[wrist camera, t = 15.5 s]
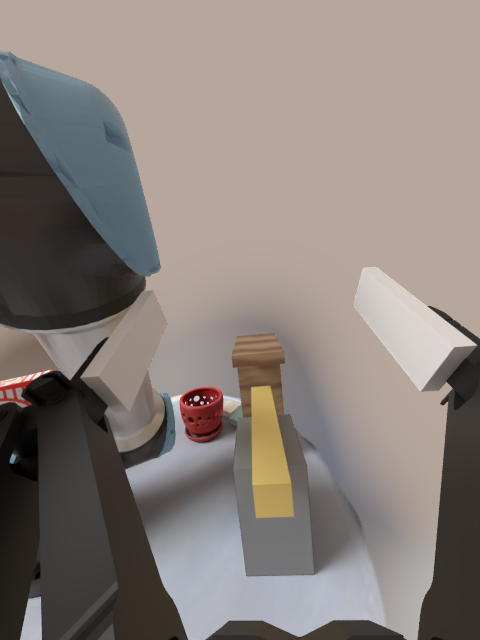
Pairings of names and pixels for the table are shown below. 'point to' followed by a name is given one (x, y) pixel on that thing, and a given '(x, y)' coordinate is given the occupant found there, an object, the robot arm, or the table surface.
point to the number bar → (268, 459)
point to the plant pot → (202, 413)
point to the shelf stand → (259, 368)
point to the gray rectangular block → (278, 532)
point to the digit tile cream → (230, 408)
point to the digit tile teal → (236, 417)
